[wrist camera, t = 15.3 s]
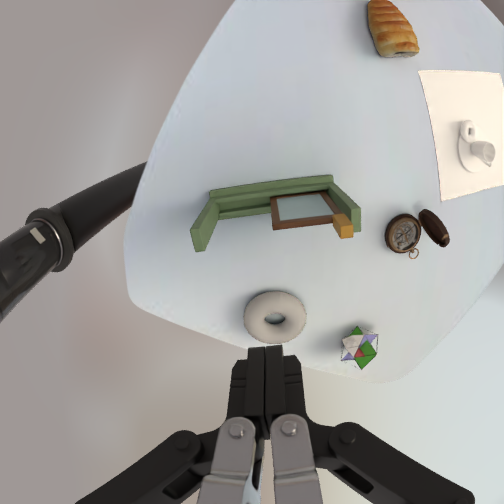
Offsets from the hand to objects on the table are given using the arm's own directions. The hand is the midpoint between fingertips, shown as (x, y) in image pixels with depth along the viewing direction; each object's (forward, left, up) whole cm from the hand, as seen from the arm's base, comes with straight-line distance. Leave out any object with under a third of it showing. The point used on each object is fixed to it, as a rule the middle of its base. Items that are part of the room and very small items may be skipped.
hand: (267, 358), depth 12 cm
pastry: (+20, +22, -27) cm, 40 cm away
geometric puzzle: (+13, -27, -27) cm, 40 cm away
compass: (+21, -8, -27) cm, 35 cm away
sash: (+4, 0, -26) cm, 26 cm away
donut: (-1, -19, -27) cm, 33 cm away
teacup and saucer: (+35, +8, -27) cm, 45 cm away
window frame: (+1, 0, -27) cm, 27 cm away
